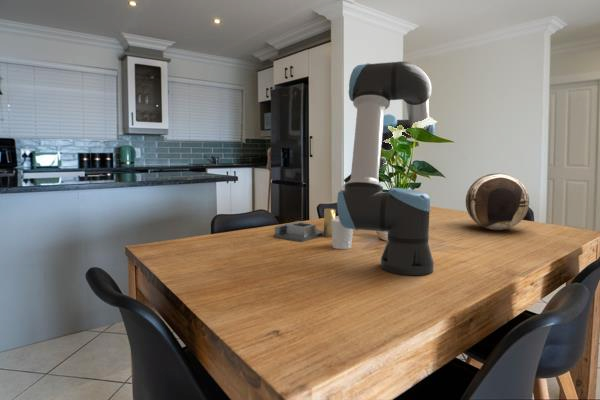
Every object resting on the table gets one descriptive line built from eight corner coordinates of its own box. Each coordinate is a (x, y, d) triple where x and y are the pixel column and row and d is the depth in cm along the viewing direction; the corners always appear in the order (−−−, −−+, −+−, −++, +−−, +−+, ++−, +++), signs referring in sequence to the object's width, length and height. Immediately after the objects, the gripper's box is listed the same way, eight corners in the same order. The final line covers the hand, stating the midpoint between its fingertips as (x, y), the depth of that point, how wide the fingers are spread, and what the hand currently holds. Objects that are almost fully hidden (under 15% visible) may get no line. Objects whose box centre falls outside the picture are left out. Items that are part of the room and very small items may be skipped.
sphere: (467, 233, 166) (470, 174, 163) (461, 223, 190) (464, 171, 187) (533, 237, 159) (538, 175, 156) (519, 226, 183) (523, 172, 180)
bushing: (331, 237, 156) (331, 210, 154) (321, 236, 158) (322, 209, 157) (337, 235, 159) (337, 209, 158) (327, 234, 162) (328, 208, 161)
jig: (302, 241, 148) (302, 229, 148) (273, 237, 156) (273, 225, 156) (327, 234, 163) (327, 222, 162) (299, 229, 171) (299, 219, 170)
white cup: (327, 248, 139) (327, 220, 138) (335, 243, 146) (336, 217, 145) (348, 250, 136) (348, 222, 134) (356, 246, 142) (356, 219, 141)
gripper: (403, 167, 160) (375, 206, 154) (363, 165, 181) (336, 199, 175) (394, 154, 156) (365, 194, 150) (354, 153, 177) (327, 188, 171)
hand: (350, 197), depth 162 cm, fingers open, 13 cm apart
